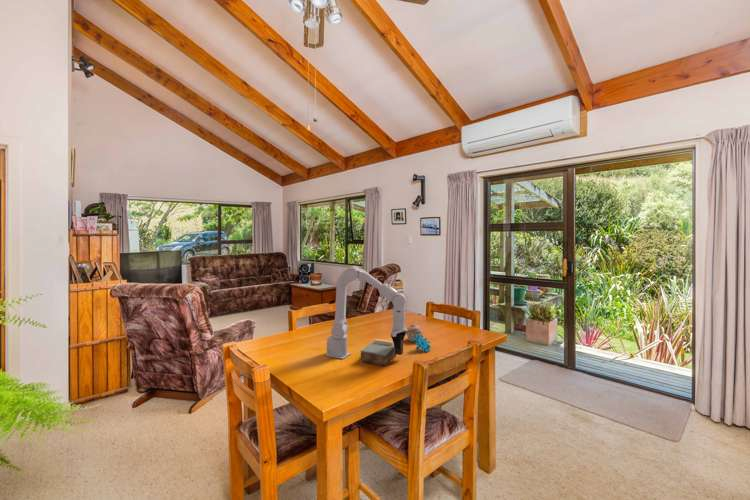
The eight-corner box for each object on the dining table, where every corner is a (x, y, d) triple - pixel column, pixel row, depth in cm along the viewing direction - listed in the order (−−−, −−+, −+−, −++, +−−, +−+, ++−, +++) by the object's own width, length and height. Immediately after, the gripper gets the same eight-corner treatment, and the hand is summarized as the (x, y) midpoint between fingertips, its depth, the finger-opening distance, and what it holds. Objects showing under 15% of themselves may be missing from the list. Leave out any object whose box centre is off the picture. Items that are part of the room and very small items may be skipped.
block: (401, 355, 164) (401, 341, 163) (394, 354, 165) (395, 340, 165) (403, 353, 167) (403, 339, 166) (397, 352, 168) (397, 338, 167)
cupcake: (420, 344, 189) (421, 326, 189) (403, 342, 192) (404, 324, 192) (423, 339, 198) (424, 321, 198) (407, 337, 201) (408, 320, 201)
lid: (360, 352, 162) (360, 347, 162) (373, 342, 176) (373, 337, 176) (385, 356, 157) (385, 351, 157) (396, 346, 171) (396, 341, 171)
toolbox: (360, 362, 162) (360, 352, 162) (373, 352, 176) (373, 343, 176) (384, 366, 158) (385, 356, 157) (396, 355, 171) (396, 346, 171)
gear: (420, 351, 173) (412, 333, 179) (413, 357, 176) (406, 339, 182) (436, 350, 180) (427, 333, 186) (429, 356, 183) (421, 339, 189)
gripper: (402, 323, 157) (401, 353, 158) (411, 316, 170) (411, 344, 171) (387, 322, 160) (386, 351, 160) (397, 315, 173) (397, 342, 174)
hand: (398, 347), depth 166 cm, fingers closed on block, 3 cm apart
